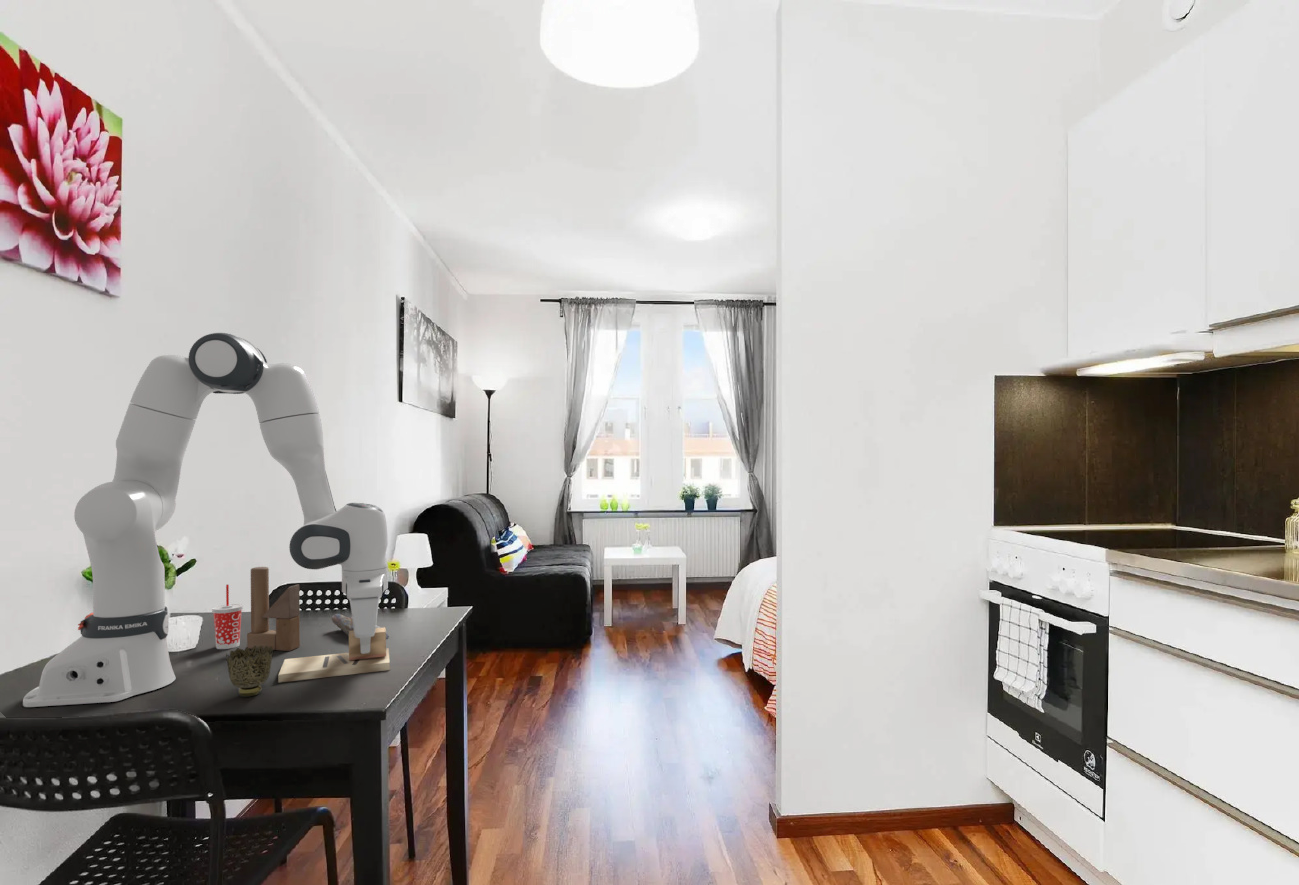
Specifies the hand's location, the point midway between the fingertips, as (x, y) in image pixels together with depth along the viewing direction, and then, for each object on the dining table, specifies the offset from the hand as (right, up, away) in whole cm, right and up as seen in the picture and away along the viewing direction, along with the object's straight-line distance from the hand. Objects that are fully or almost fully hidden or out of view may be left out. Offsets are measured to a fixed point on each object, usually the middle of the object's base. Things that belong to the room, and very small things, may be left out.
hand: (365, 649), depth 149 cm
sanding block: (0, -1, 0) cm, 1 cm away
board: (-5, -3, -2) cm, 6 cm away
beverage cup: (-37, -4, +16) cm, 41 cm away
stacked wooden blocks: (-26, -4, +14) cm, 30 cm away
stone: (-11, -4, +25) cm, 28 cm away
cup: (-14, -4, -17) cm, 23 cm away
